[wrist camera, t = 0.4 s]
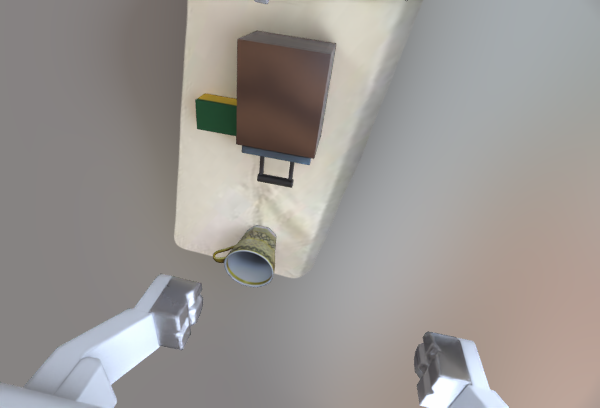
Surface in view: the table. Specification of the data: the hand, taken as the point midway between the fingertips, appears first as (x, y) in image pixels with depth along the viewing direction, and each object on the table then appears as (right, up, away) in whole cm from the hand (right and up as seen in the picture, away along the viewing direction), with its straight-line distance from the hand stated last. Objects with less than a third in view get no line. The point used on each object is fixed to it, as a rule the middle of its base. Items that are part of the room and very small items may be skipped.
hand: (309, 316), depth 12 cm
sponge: (-13, +20, +45) cm, 51 cm away
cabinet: (-2, +23, +41) cm, 47 cm away
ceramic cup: (-10, -3, +60) cm, 61 cm away
